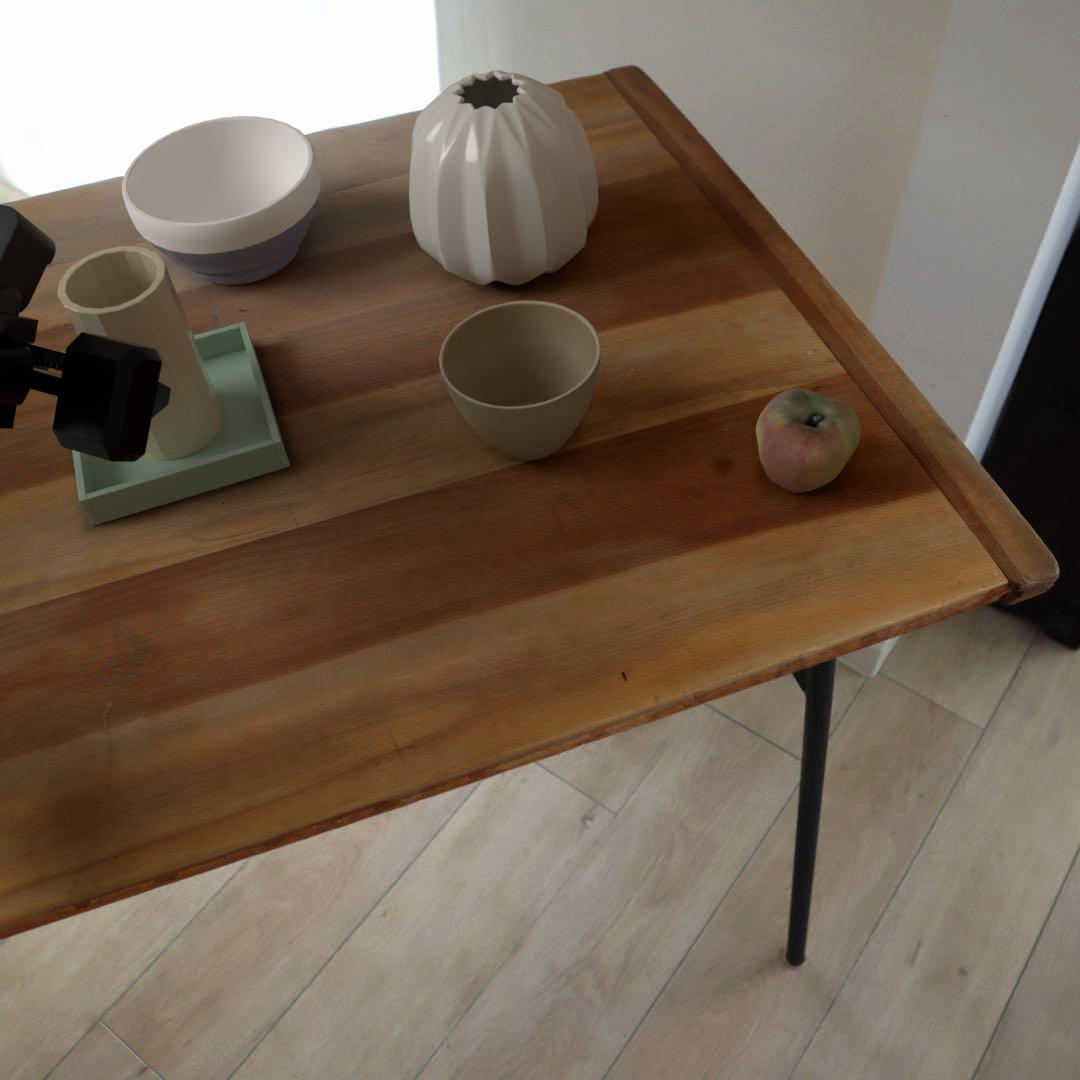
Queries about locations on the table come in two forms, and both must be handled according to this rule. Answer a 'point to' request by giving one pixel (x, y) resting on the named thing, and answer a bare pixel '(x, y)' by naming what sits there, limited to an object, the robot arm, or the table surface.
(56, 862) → the table surface
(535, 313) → the flower pot
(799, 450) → the apple
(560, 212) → the vase
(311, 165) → the bowl
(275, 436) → the serving tray
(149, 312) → the rice cup
